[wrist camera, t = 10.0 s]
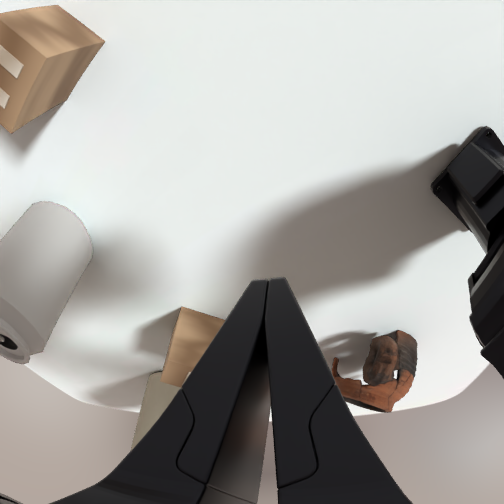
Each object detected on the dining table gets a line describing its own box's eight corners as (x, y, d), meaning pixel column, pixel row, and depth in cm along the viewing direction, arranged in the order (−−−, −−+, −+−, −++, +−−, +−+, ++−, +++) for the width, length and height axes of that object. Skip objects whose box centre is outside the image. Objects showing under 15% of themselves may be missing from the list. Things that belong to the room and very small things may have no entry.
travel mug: (157, 391, 44) (134, 499, 31) (142, 366, 39) (110, 491, 26) (208, 397, 44) (191, 511, 30) (200, 373, 39) (177, 508, 25)
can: (62, 269, 28) (8, 370, 19) (18, 212, 24) (-56, 309, 15) (113, 251, 26) (54, 372, 17) (63, 181, 21) (-30, 295, 12)
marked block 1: (105, 41, 15) (45, 58, 10) (66, 99, 17) (10, 134, 12) (57, 4, 12) (-9, 14, 8) (23, 62, 15) (-38, 89, 10)
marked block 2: (231, 321, 31) (223, 377, 26) (216, 346, 34) (208, 396, 29) (181, 306, 30) (167, 361, 25) (172, 332, 33) (159, 382, 28)
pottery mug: (417, 355, 34) (396, 418, 31) (349, 337, 39) (325, 396, 36) (435, 322, 25) (409, 410, 22) (341, 298, 30) (309, 379, 27)
